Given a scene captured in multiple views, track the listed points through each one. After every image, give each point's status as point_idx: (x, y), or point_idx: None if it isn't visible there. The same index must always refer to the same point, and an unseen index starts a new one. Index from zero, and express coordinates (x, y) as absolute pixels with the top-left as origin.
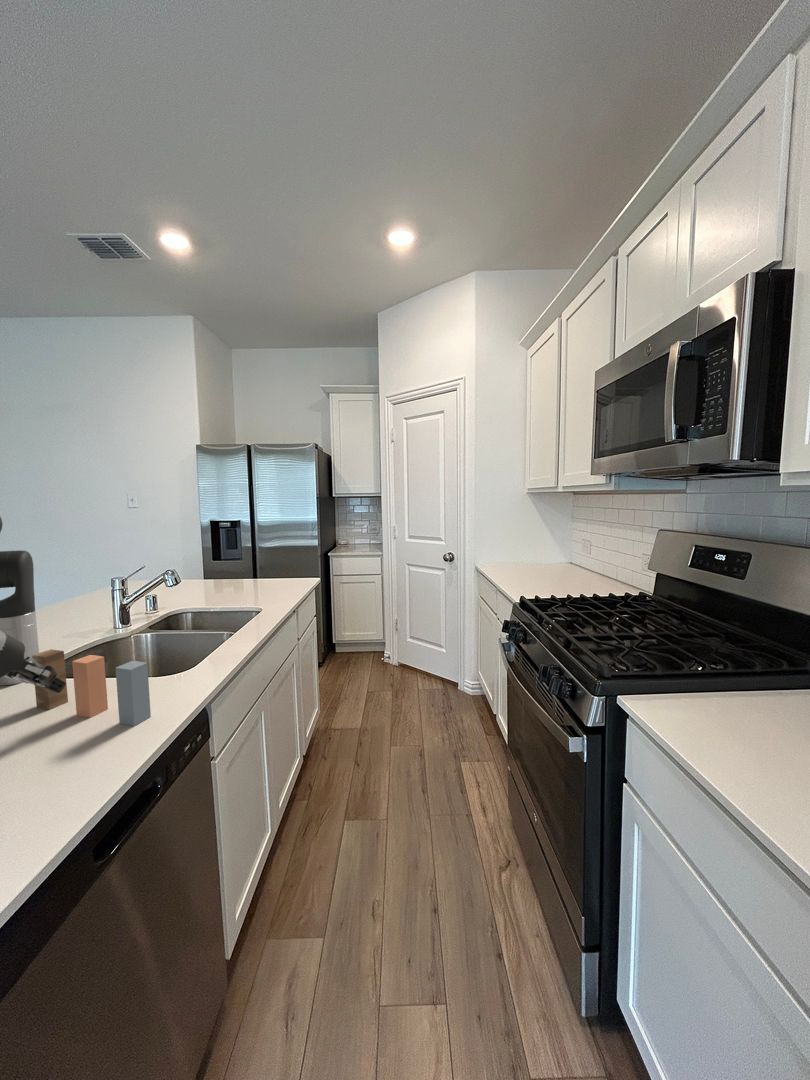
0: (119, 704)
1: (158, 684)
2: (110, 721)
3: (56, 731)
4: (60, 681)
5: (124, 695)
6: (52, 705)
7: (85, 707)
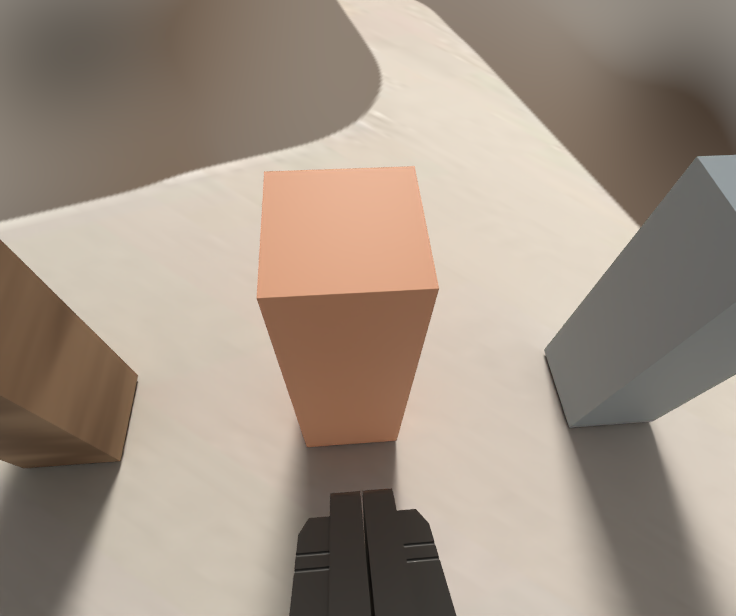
0: (621, 393)
1: None
2: (505, 426)
3: None
4: (401, 533)
5: (697, 367)
6: (117, 442)
7: (369, 427)
